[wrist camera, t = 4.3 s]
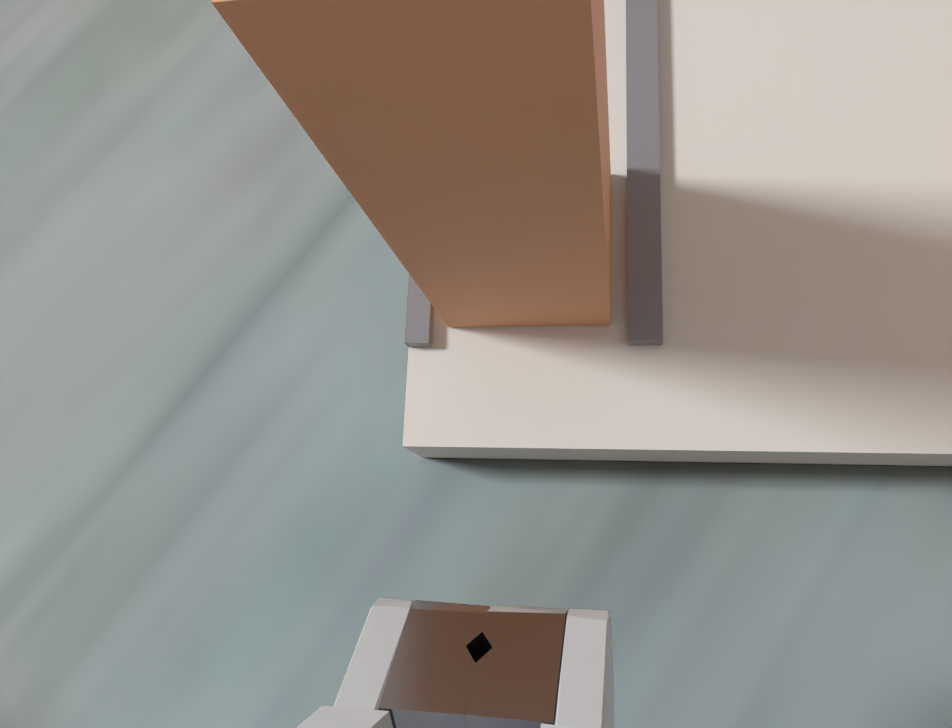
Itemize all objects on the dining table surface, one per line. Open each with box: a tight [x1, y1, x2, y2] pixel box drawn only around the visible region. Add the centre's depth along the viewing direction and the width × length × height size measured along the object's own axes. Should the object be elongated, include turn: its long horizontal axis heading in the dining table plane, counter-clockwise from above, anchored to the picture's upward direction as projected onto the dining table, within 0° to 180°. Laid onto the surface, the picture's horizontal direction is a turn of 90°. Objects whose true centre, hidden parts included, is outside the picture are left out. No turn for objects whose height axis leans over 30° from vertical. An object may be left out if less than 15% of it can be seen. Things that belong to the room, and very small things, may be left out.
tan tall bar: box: [212, 0, 611, 327], centre depth 14 cm, size 4×4×13 cm
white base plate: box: [403, 0, 952, 466], centre depth 20 cm, size 22×16×3 cm
